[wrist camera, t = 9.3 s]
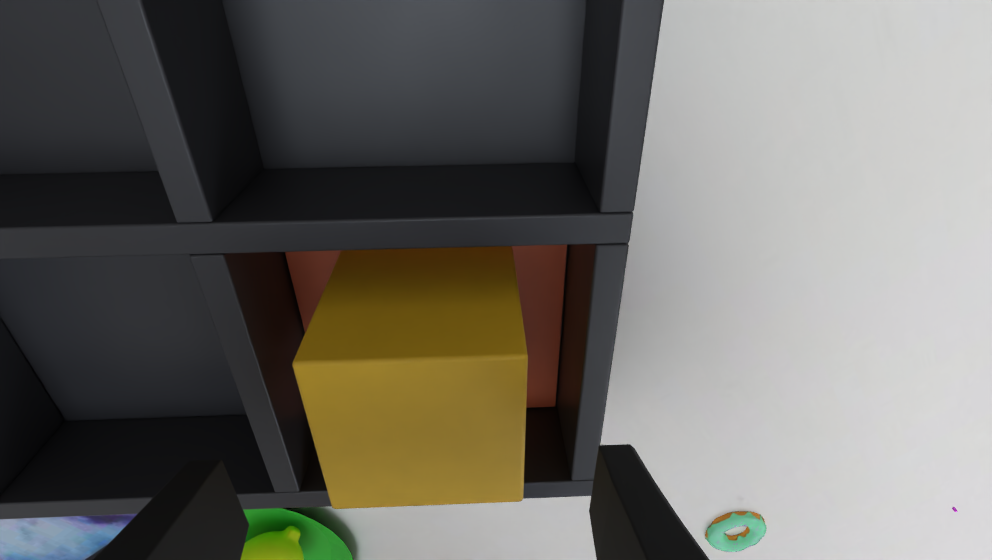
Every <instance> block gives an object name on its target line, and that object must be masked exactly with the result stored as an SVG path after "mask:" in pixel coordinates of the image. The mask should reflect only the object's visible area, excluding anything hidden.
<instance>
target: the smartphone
mask: <svg viewBox="0 0 992 560" xmlns="http://www.w3.org/2000/svg"><path fill="white" fill-rule="evenodd" d="M136 515H137V514H124V515H99V516H74V517H49V518H24V519H0V560H93V559H94V558H95V557H96V556H97V555H98V554H99V553H100V552H101V551H102V550H103V549H104V548H105V547H106V546H107V545H108V544H109V543H110V542H111V541H112V540H113V539H114V538H115V537H116V536H117V535H118V534H119V533H120V531H121V530H122V529H123V528H124V527H125V526H126V525H127V524H128V523H129V522H130V521H131V520H132V519H133V518H134V517H135V516H136Z"/></svg>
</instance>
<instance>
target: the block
mask: <svg viewBox="0 0 992 560" xmlns="http://www.w3.org/2000/svg"><path fill="white" fill-rule="evenodd" d="M292 365H293V369H294V373H295V376H296V380H297V384H298V387H299V391H300V394H301V398H302V401H303V405H304V409H305V412H306V416H307V419H308V423H309V427H310V430H311V434H312V437H313V441H314V444H315V448H316V452H317V455H318V459H319V462H320V466H321V470H322V473H323V477H324V480H325V484H326V487H327V491H328V495H329V498H330V502H331V505H332V508H334V509H346V508H371V507H396V506H421V505H445V504H470V503H495V502H519V501H522V499H523V492H524V462H525V431H526V400H527V370H528V354H527V347H526V340H525V332H524V325H523V318H522V311H521V304H520V297H519V290H518V283H517V275H516V268H515V261H514V254H513V249H512V247H510V246H495V247H456V248H417V249H378V250H343V251H341V252H340V254H339V257H338V259H337V261H336V264H335V266H334V268H333V271H332V273H331V275H330V277H329V280H328V282H327V284H326V287H325V289H324V291H323V294H322V296H321V298H320V301H319V303H318V305H317V307H316V310H315V312H314V314H313V317H312V319H311V321H310V324H309V326H308V328H307V331H306V333H305V335H304V337H303V340H302V342H301V344H300V347H299V349H298V351H297V354H296V356H295V358H294V361H293V364H292Z"/></svg>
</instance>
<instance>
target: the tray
mask: <svg viewBox="0 0 992 560" xmlns="http://www.w3.org/2000/svg"><path fill="white" fill-rule="evenodd" d="M663 4H664V0H0V519H24V518H49V517H74V516H99V515H124V514H138V513H139V512H140V511H141V510H142V509H143V508H144V507H145V506H146V505H147V503H148V502H149V501H150V500H151V499H152V498H153V497H154V496H155V495H156V494H157V493H158V492H159V491H160V490H161V489H162V488H163V487H164V486H165V485H166V484H167V483H168V482H169V481H170V480H171V479H172V478H173V477H174V476H175V475H176V474H177V473H178V472H179V471H180V470H181V469H182V468H183V467H184V466H185V464H186V463H187V462H188V461H191V460H218V459H222V461H223V463H224V466H225V468H226V471H227V473H228V475H229V478H230V480H231V482H232V485H233V487H234V490H235V492H236V494H237V497H238V499H239V501H240V504H241V506H242V509H243V510H248V509H273V508H298V507H323V506H332V505H331V502H330V498H329V495H328V491H327V487H326V484H325V480H324V477H323V473H322V470H321V466H320V462H319V459H318V455H317V452H316V448H315V444H314V441H313V437H312V434H311V430H310V427H309V423H308V419H307V416H306V412H305V409H304V405H303V401H302V398H301V394H300V391H299V387H298V384H297V380H296V376H295V373H294V369H293V365H292V364H293V361H294V358H295V356H296V354H297V351H298V349H299V347H300V344H301V342H302V340H303V337H304V335H305V333H306V331H307V328H308V326H309V324H310V321H311V319H312V317H313V314H314V312H315V310H316V307H317V305H318V303H319V301H320V298H321V296H322V294H323V291H324V289H325V287H326V284H327V282H328V280H329V277H330V275H331V273H332V271H333V268H334V266H335V264H336V261H337V259H338V257H339V254H340V252H341V251H343V250H378V249H417V248H456V247H495V246H510V247H512V249H513V254H514V261H515V268H516V275H517V283H518V290H519V297H520V304H521V311H522V318H523V325H524V332H525V340H526V347H527V354H528V370H527V400H526V431H525V462H524V492H523V498H546V497H571V496H592V489H593V481H594V474H595V467H596V460H597V453H598V446H600V442H601V435H602V428H603V421H604V414H605V407H606V400H607V393H608V386H609V379H610V372H611V365H612V358H613V351H614V344H615V337H616V330H617V323H618V316H619V309H620V302H621V295H622V289H623V282H624V275H625V268H626V261H627V254H628V247H629V245H628V242H629V240H630V233H631V226H632V219H633V212H632V211H633V210H634V206H635V199H636V192H637V185H638V178H639V171H640V164H641V157H642V150H643V143H644V136H645V129H646V122H647V115H648V108H649V101H650V94H651V87H652V80H653V73H654V66H655V59H656V52H657V45H658V38H659V31H660V25H661V18H662V11H663Z"/></svg>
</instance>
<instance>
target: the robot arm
mask: <svg viewBox="0 0 992 560" xmlns="http://www.w3.org/2000/svg"><path fill="white" fill-rule="evenodd" d="M589 512H590V519H591V525H592V532H593V539H594V545H595V551H596V557H597V560H709V559H708V557H707V556H706V554H705V553H704V552H703V550H702V549H701V548H700V546H699V545H698V543H697V542H696V541H695V539H694V538H693V537H692V535H691V534H690V533H689V531H688V530H687V528H686V527H685V526H684V524H683V523H682V521H681V520H680V518H679V517H678V516H677V514H676V513H675V511H674V510H673V508H672V507H671V505H670V504H669V502H668V501H667V499H666V498H665V496H664V495H663V493H662V492H661V490H660V489H659V487H658V486H657V484H656V483H655V481H654V480H653V478H652V476H651V475H650V473H649V472H648V470H647V468H646V467H645V465H644V464H643V462H642V460H641V459H640V457H639V455H638V454H637V452H636V450H635V449H634V448H633V447H632V446H631V445H630V444H627V445H600V446H598V453H597V460H596V467H595V474H594V481H593V489H592V496H591V503H590V510H589ZM248 528H249V523H248V520H247V518H246V516H245V513H244V511H243V509H242V506H241V504H240V501H239V499H238V497H237V494H236V492H235V490H234V487H233V485H232V482H231V480H230V478H229V475H228V473H227V471H226V468H225V466H224V463H223V461H222V459H218V460H191V461H188V462H187V463H186V464H185V466H184V467H183V468H182V469H181V470H180V471H179V472H178V473H177V474H176V475H175V476H174V477H173V478H172V479H171V480H170V481H169V482H168V483H167V484H166V485H165V486H164V487H163V488H162V489H161V490H160V491H159V492H158V493H157V494H156V495H155V496H154V497H153V498H152V499H151V500H150V501H149V502H148V503H147V505H146V506H145V507H144V508H143V509H142V510H141V511H140V512H139V513H138V514H137V515H136V516H135V517H134V518H133V519H132V520H131V521H130V522H129V523H128V524H127V525H126V526H125V527H124V528H123V529H122V530H121V531H120V533H119V534H118V535H117V536H116V537H115V538H114V539H113V540H112V541H111V542H110V543H109V544H108V545H107V546H106V547H105V548H104V549H103V550H102V551H101V552H100V553H99V554H98V555H97V556H96V557H95V558H94V559H93V560H240V559H241V556H242V552H243V548H244V544H245V540H246V536H247V532H248Z"/></svg>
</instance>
